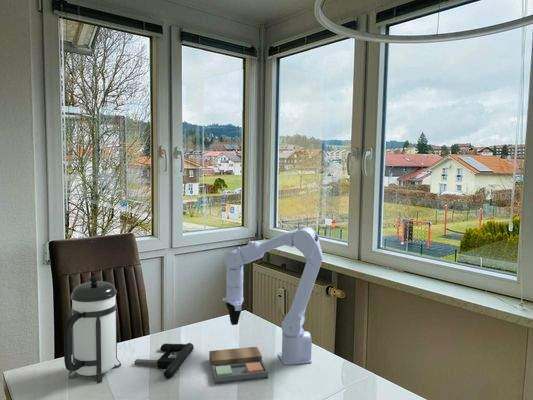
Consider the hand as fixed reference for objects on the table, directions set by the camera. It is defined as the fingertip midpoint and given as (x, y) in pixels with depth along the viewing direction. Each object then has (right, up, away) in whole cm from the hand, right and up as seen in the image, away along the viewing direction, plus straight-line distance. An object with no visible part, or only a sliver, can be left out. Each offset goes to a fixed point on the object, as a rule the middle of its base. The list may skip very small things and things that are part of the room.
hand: (234, 324), depth 140 cm
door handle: (-22, -10, -8) cm, 26 cm away
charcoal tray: (+3, -11, -15) cm, 19 cm away
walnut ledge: (+1, -10, -8) cm, 13 cm away
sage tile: (-2, -8, -18) cm, 20 cm away
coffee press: (-41, -10, -17) cm, 46 cm away
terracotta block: (+7, -8, -15) cm, 19 cm away
